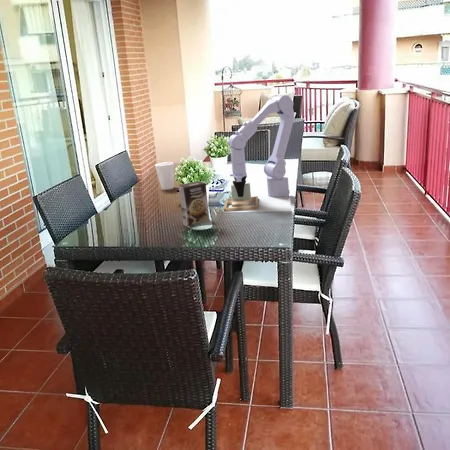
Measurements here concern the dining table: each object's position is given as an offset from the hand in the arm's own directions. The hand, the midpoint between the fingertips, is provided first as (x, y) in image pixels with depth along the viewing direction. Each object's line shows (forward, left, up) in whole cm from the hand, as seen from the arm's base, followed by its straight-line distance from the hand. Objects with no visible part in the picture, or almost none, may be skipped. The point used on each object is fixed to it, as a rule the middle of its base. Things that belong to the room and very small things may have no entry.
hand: (241, 194), depth 207 cm
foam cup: (+41, -42, -5) cm, 59 cm away
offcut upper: (0, +9, -3) cm, 9 cm away
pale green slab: (0, 0, -5) cm, 5 cm away
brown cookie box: (+17, +23, -5) cm, 29 cm away
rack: (0, +5, -5) cm, 7 cm away
